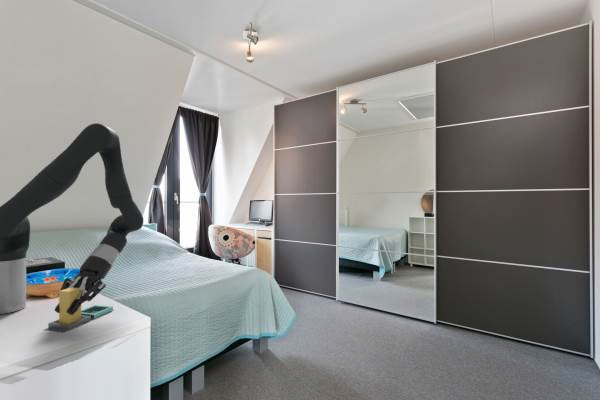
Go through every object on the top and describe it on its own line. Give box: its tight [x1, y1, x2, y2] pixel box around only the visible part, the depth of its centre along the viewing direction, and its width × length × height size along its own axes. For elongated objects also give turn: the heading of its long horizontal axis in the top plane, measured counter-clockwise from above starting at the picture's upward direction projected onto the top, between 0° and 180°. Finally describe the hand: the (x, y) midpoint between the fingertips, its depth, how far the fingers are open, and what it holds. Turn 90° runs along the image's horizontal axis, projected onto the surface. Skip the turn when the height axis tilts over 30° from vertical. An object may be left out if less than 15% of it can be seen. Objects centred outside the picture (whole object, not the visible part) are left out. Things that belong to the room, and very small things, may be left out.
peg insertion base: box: [43, 304, 114, 334], centre depth 90 cm, size 7×17×2 cm, turn 168°
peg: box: [58, 288, 82, 324], centre depth 87 cm, size 4×4×10 cm
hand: (63, 312), depth 85 cm, fingers closed on peg, 3 cm apart
